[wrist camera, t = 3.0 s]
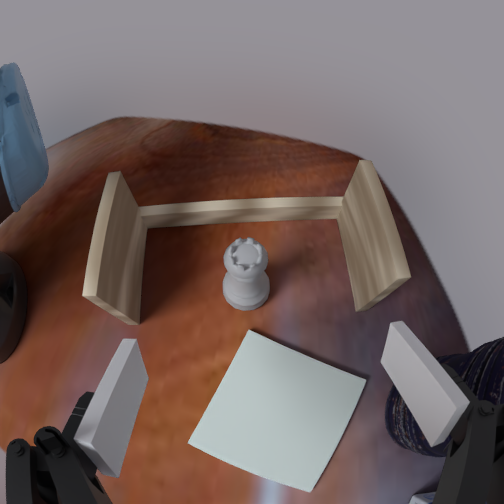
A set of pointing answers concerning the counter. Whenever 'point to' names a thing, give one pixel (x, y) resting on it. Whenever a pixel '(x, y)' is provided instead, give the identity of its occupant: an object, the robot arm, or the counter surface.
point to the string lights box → (423, 498)
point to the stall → (243, 210)
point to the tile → (278, 413)
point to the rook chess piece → (246, 274)
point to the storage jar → (471, 372)
